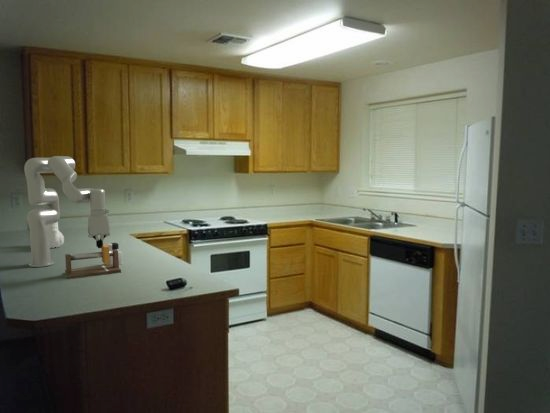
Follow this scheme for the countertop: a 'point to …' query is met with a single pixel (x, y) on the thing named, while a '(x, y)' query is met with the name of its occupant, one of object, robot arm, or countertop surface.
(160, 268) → the countertop surface
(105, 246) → the collar
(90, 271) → the pipe stand
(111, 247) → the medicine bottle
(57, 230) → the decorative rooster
